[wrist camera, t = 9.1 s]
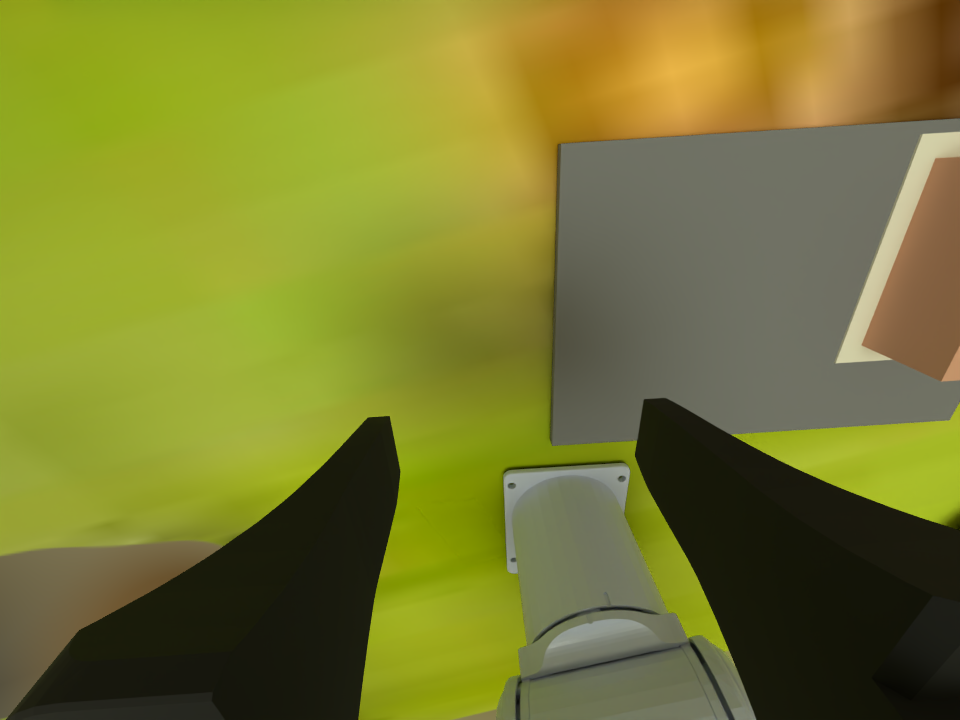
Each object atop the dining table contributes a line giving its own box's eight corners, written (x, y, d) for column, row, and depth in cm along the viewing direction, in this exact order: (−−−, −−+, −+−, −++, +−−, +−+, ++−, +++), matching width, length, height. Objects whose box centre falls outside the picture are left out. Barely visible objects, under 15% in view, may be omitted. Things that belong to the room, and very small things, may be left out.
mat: (938, 414, 24) (951, 421, 24) (550, 439, 24) (552, 446, 24) (1104, 109, 17) (1128, 107, 17) (558, 144, 17) (561, 143, 17)
